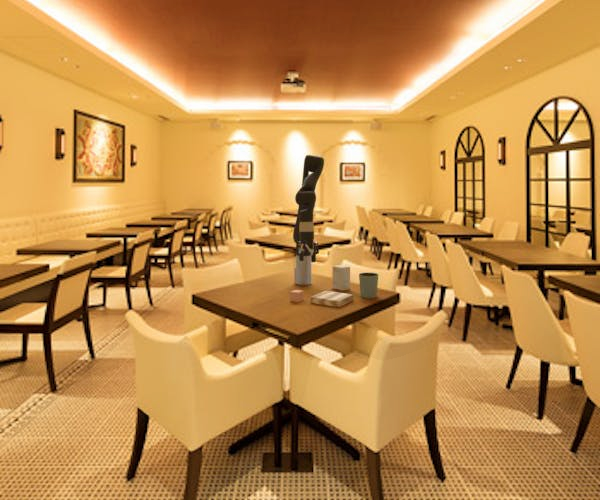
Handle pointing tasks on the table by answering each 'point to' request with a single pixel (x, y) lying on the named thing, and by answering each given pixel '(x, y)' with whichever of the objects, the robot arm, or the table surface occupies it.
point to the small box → (341, 277)
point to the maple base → (332, 298)
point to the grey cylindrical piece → (368, 285)
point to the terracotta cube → (296, 295)
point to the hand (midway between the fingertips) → (307, 261)
